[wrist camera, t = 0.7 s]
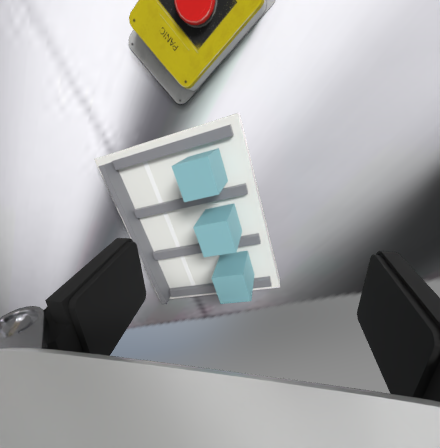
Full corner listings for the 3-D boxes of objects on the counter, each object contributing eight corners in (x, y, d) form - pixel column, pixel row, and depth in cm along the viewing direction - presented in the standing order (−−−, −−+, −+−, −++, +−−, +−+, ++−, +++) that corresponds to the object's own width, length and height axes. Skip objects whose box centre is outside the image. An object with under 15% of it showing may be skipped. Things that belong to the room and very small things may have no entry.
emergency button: (283, -25, 21) (169, 108, 27) (282, -4, 25) (182, 108, 31) (209, -135, 19) (105, 34, 26) (220, -95, 23) (127, 43, 29)
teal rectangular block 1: (218, 147, 29) (207, 156, 25) (228, 180, 31) (219, 194, 26) (188, 156, 31) (171, 166, 26) (198, 187, 32) (184, 202, 27)
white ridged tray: (239, 112, 30) (234, 113, 26) (279, 278, 38) (280, 298, 34) (103, 156, 35) (81, 162, 32) (164, 292, 44) (153, 310, 40)
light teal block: (234, 203, 32) (227, 220, 27) (242, 231, 33) (236, 252, 28) (205, 209, 33) (193, 227, 28) (214, 236, 34) (203, 257, 30)
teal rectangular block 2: (247, 250, 34) (243, 274, 29) (254, 274, 36) (251, 301, 31) (220, 254, 36) (211, 278, 31) (227, 277, 37) (220, 303, 32)
